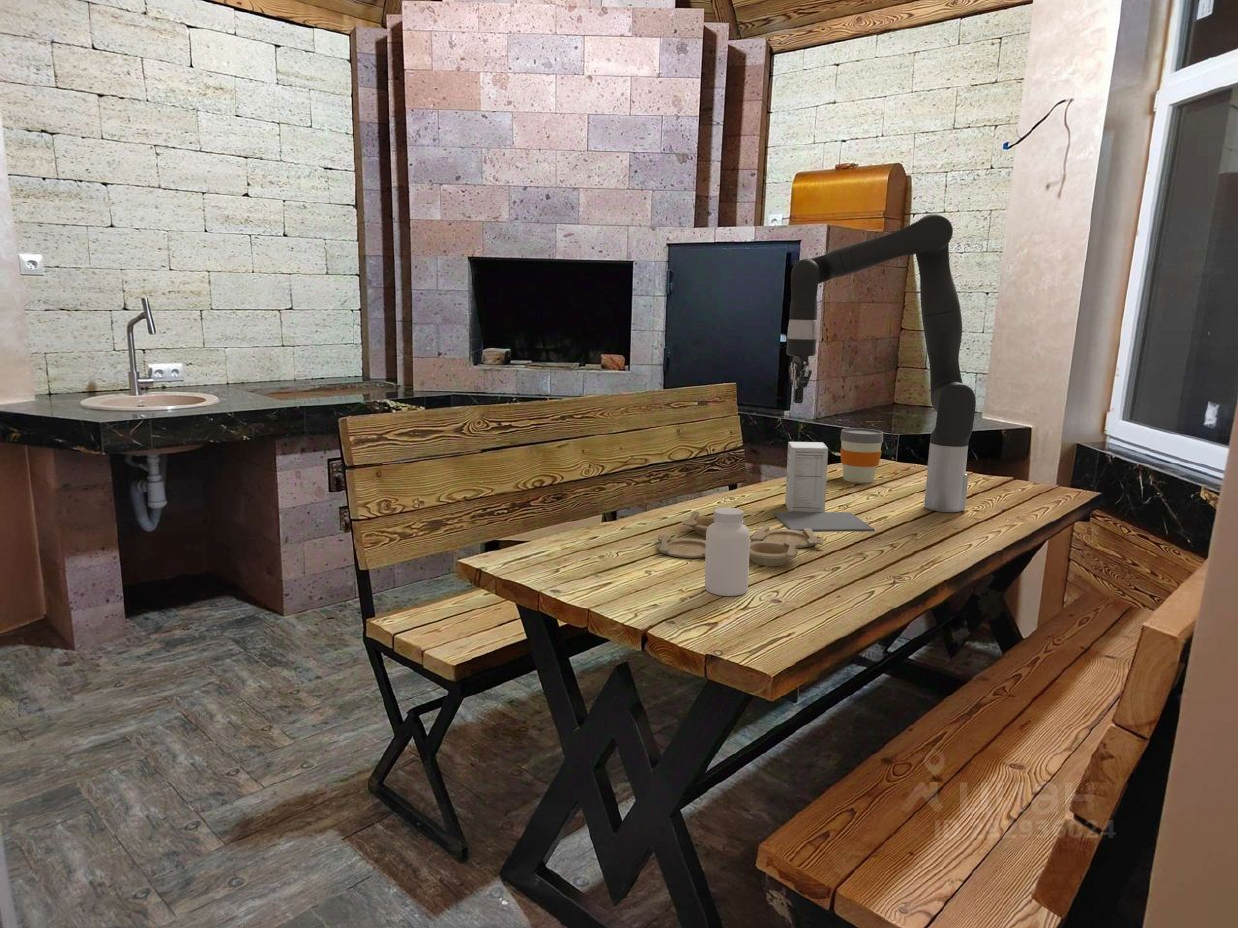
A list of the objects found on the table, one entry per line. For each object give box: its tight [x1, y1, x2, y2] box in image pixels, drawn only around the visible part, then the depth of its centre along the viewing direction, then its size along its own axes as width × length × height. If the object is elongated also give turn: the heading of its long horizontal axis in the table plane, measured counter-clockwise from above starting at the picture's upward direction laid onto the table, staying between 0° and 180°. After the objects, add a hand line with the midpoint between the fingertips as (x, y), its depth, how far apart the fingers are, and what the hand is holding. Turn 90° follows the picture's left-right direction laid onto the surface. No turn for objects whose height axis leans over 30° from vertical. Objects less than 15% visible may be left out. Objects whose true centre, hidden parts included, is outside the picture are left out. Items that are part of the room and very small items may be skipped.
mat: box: [772, 511, 876, 532], centre depth 199 cm, size 20×16×1 cm
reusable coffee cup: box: [839, 427, 884, 484], centre depth 248 cm, size 13×13×15 cm
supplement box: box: [784, 441, 829, 512], centre depth 211 cm, size 10×9×17 cm
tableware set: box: [656, 510, 824, 567], centre depth 178 cm, size 35×29×4 cm
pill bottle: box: [704, 507, 751, 597], centre depth 149 cm, size 8×8×15 cm
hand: (797, 402), depth 218 cm, fingers closed
